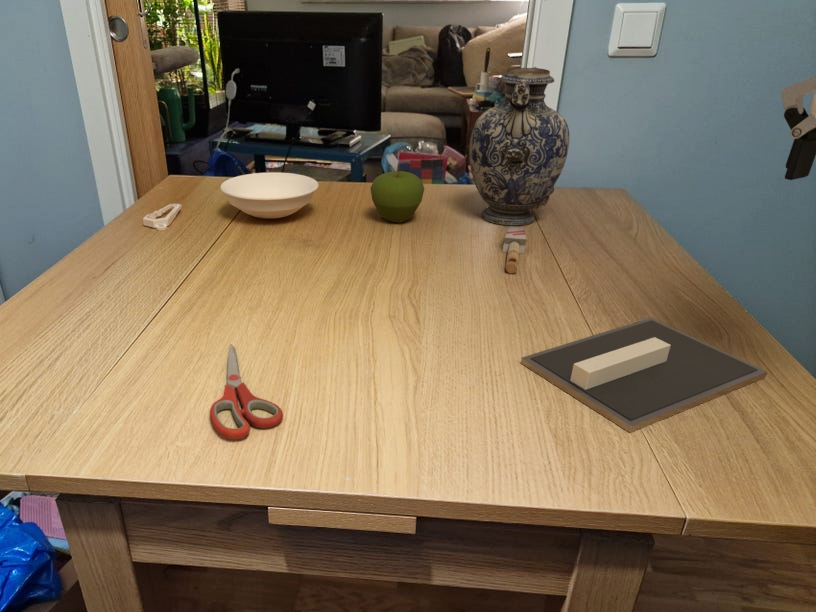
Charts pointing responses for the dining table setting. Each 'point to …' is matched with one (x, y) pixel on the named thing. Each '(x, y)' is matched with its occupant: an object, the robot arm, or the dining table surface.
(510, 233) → the paintbrush
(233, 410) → the scissors
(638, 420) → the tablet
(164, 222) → the stepped key frame
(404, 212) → the apple
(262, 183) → the bowl
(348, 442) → the dining table surface
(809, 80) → the robot arm
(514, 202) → the decorative vase
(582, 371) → the beige rectangular block
